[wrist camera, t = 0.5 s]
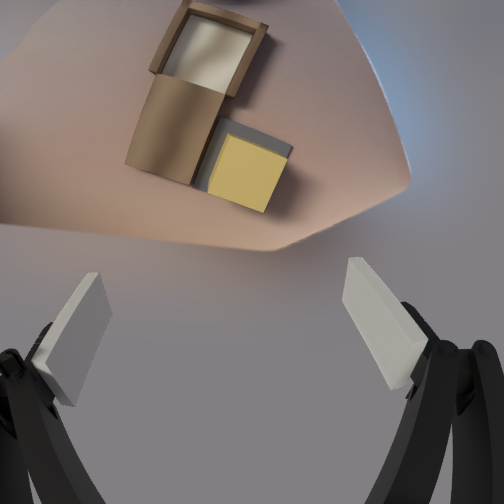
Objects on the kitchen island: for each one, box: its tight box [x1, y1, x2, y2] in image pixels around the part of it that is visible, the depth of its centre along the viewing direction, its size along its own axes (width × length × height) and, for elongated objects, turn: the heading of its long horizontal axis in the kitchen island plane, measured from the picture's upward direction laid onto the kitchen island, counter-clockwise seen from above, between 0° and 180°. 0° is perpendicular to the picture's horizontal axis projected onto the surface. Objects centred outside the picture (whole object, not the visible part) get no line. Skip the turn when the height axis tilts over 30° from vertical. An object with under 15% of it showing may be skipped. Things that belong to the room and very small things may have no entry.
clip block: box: [208, 133, 288, 213], centre depth 30 cm, size 6×6×6 cm
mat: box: [193, 117, 292, 192], centre depth 33 cm, size 9×9×1 cm
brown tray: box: [125, 0, 269, 185], centre depth 27 cm, size 10×20×2 cm, turn 157°
